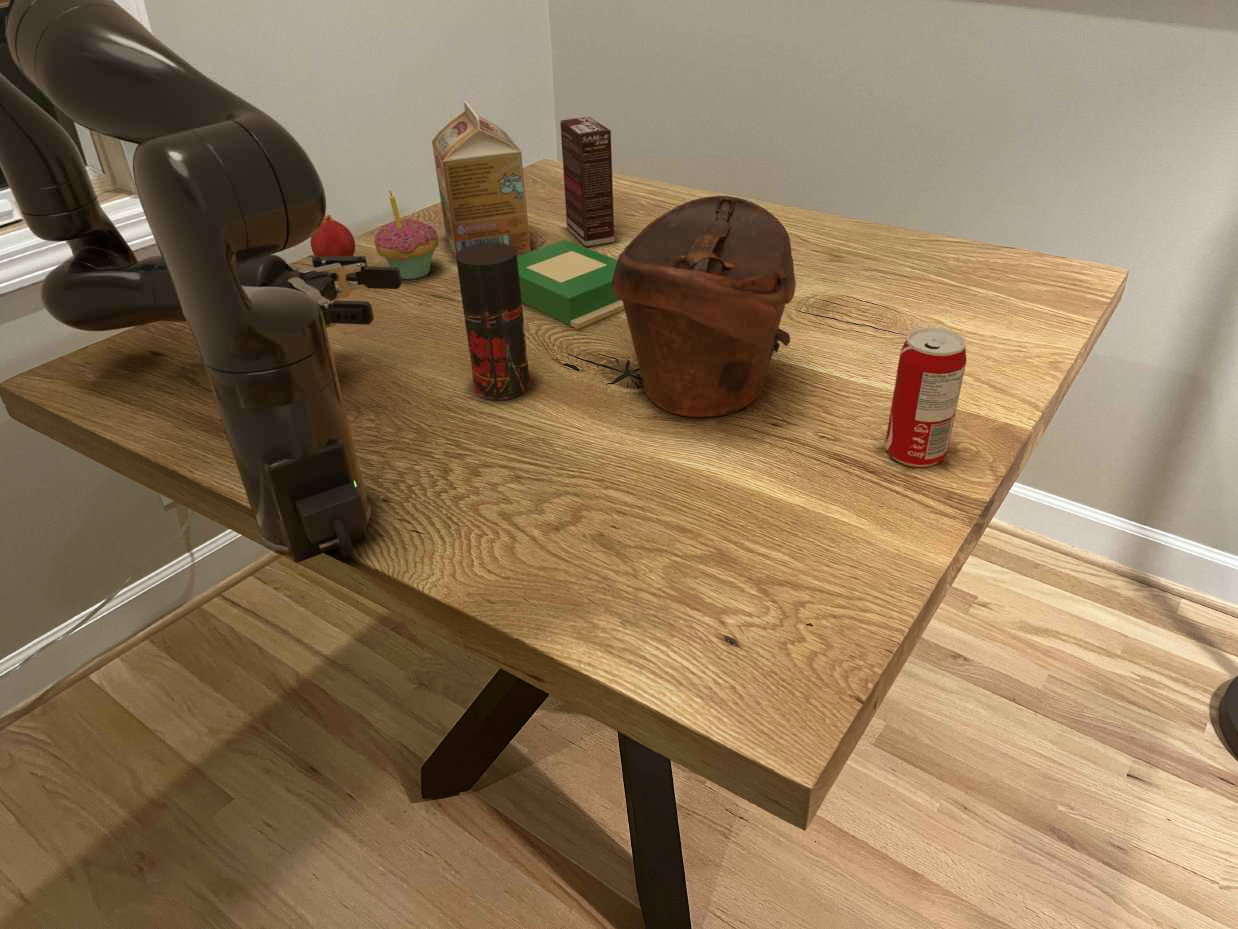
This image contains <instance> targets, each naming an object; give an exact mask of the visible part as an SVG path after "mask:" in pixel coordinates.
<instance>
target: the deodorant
mask: <svg viewBox="0 0 1238 929" xmlns="http://www.w3.org/2000/svg"><path fill="white" fill-rule="evenodd" d="M517 256H518V254H517V251H516V249H515V248H514V247H513V246H511V245H508V244H504V243H493V242H492V243H480V244H475V245H471V246H468V247H465V248H463V249H461V250H460V251H459V252H458V253H457V254H456V259H455V262H456V269H457V275H458V282H459V289H460V296H461V304H462V311H463V317H464V323H465V324H464V325H465V330H466V337H467V343H468V345H467V346H468V352H469V353H468V354H469V358H470V367H471V372H472V379H473V388H474V392H475V394H476V395H477V396H478V397H480V398H481V399H484V400H488V401H495V402H500V401H508V400H513V399H516V398H520V397H521V396H522V395H524V394H526V393H527V392H528V391H529V390H530V388H531V386H530V385H531V379H530V372H529V370H530V369H529V360H528V351H527V350H528V349H527V338H526V330H525V322H524V310H523V303H522V300H521V290H520V280H519V271H518V261H517Z"/></svg>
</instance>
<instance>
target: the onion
mask: <svg viewBox="0 0 1238 929" xmlns="http://www.w3.org/2000/svg"><path fill="white" fill-rule="evenodd" d="M310 248H311V251H312V254H313V255H314V256H313V257H316V256H355V252H356V241H355V238H354V235H353V234H352V231H350V230H349V228H348V227H346V226H345V225H344V224H343V223H341V222H340V221H338V220H335V219H333V217H332V214H329V213H328V214H325V217H324V220H323V223H322V225H321V227H320V228H319V229H318V231H317V232H316V233H315V234H314V235H313V236H312V237H310Z"/></svg>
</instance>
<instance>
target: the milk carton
mask: <svg viewBox="0 0 1238 929" xmlns="http://www.w3.org/2000/svg"><path fill="white" fill-rule="evenodd" d="M463 106H464V111H463V112H462V113H460V114H458V116H456V117H455V118H454V119H452V120H451V121H450V122H448V123H447V124H446V125H445V126H444V127H443V128H442V129H441V130H439V131H438V133H437V134H436V136H434V138H433V139H432V140H431V144H432V145H431V146H432V151H433V157H434V164H435V171H436V178H437V185H438V192H439V199H440V205H441V212H442V218H443V226H444V232H445V238H446V241H447V243H448V245H449V248H450V250H451V253H452V254H453V256H454V259H455V260H456V254H457V253H458V252H459V251H460V250H461V249H463V248H465V247H468V246H471V245H475V244H480V243H492V242H493V243H504V244H508V245H511V246H513V247H514V248H515V249H516V251H517V255H522V254H525V253H528V252H531V251H532V250H531V239H530V230H529V228H530V227H529V219H528V218H529V217H528V208H527V198H526V185H525V175H524V174H525V173H524V165H523V164H524V163H523V154H522V151H521V149H520V148H519V147H518V145H516V144H515V142H514V141H513V140H512V139H511V138H510V136H509V135H508V134H507V132H506V131H504V130H503V129H502V128H500V127H499V126H498V125H497V124H495V123H493V122H491V121H490V120H488V119H486V118H484V117H482V116H480V115H478V114H477V113H476V112H475V111H474V109H473V108H472V107H471V105H470V104H469V103H468V101H467V100H464V101H463Z"/></svg>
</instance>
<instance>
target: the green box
mask: <svg viewBox="0 0 1238 929" xmlns="http://www.w3.org/2000/svg"><path fill="white" fill-rule="evenodd" d="M517 261H518V271H519V280H520V290H521V300H522V304H524V305H526V306H528V307H530V308H532V309H534V310H537V311H538V312H541V313H544V314H545V315H547V316H549V317H551V318H553V319H556V320H557V321H560V322H562V323H564V324H566V325H569V326H571V327H572V328H574V329H577V330H580V329H581V328H585V327H586V326H589V325H591V324H593V323H595V322H598V321H600V320H603V319H605V318H607V317H610V316H613V315H615V314H617V313H619V312H622V311H625V309H624V304H623V301H621V300H619V299H618V298H617V297H616V295H615V294H614V289H613V287H612V280H613V275H614V271H615V267H616V264H617V261H618V259H617V258H613V257H612V256H609V255H606V254H604V253H601V252H598V251H595V250H593V249H590V248H587V247H586V246H584V245H580V244H577V243H575V242H572V241H570V240H568V239H562V240H560V241H557V242H554V243H551V244H548V245H545V246H543V247H539V248H537V249H534V250H531V252H528V253H523V254H518V255H517Z"/></svg>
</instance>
